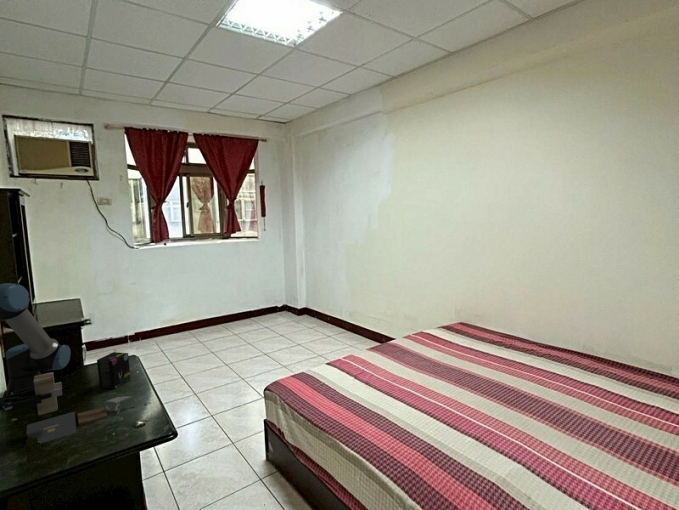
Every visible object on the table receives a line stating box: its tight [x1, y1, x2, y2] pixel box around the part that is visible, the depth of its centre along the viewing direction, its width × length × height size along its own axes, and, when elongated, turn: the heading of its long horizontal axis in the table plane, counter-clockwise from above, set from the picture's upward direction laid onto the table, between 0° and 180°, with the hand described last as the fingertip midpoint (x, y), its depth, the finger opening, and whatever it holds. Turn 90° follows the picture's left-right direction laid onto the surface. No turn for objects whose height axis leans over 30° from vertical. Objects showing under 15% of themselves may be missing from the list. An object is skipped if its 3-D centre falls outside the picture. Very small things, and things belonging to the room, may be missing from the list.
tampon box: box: [96, 351, 131, 390], centre depth 191 cm, size 11×9×15 cm
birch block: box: [34, 371, 59, 416], centre depth 151 cm, size 6×6×14 cm
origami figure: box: [104, 395, 138, 415], centre depth 167 cm, size 12×8×5 cm
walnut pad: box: [77, 405, 108, 427], centre depth 161 cm, size 10×10×1 cm
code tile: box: [25, 411, 77, 445], centre depth 153 cm, size 20×16×1 cm
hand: (61, 388), depth 154 cm, fingers closed on birch block, 6 cm apart
